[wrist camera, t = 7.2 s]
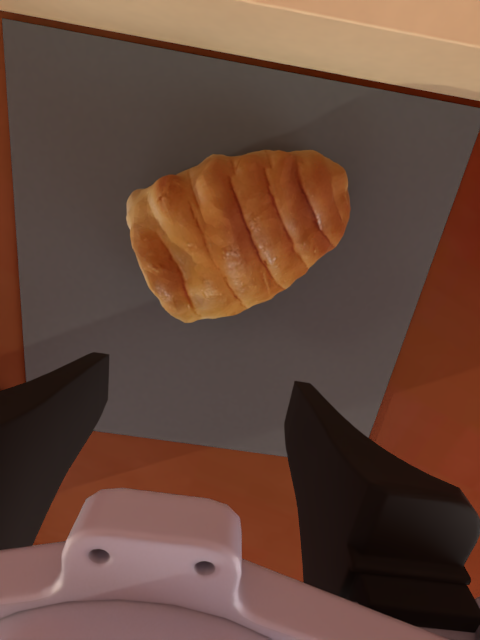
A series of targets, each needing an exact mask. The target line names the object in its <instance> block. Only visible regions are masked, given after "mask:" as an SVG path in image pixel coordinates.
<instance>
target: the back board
mask: <svg viewBox="0 0 480 640" xmlns="http://www.w3.org/2000/svg"><path fill="white" fill-rule="evenodd" d="M0 10H2V11H7V12H12V13H18V14H23V15H28V16H33V17H39V18H44V19H49V20H55V21H60V22H65V23H70V24H76V25H81V26H86V27H91V28H97V29H102V30H107V31H113V32H118V33H123V34H128V35H134V36H139V37H144V38H150V39H155V40H160V41H165V42H171V43H176V44H181V45H187V46H192V47H197V48H202V49H208V50H213V51H218V52H224V53H229V54H234V55H239V56H245V57H250V58H255V59H261V60H266V61H271V62H276V63H282V64H287V65H292V66H298V67H303V68H308V69H313V70H319V71H324V72H329V73H335V74H340V75H345V76H350V77H356V78H361V79H366V80H372V81H377V82H382V83H387V84H393V85H398V86H403V87H409V88H414V89H419V90H424V91H430V92H435V93H440V94H446V95H451V96H456V97H461V98H467V99H472V100H477V101H480V0H0Z"/></svg>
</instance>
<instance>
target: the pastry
mask: <svg viewBox="0 0 480 640" xmlns="http://www.w3.org/2000/svg"><path fill="white" fill-rule="evenodd" d="M350 211H351V208H350V198H349V193H348V177H347V174H346V171H345V169H344V168H343V167H342V166H340V165H339V164H337V163H335V162H333V161H332V160H330V159H329V158H327V157H324V156H323V155H322V154H320V153H318V152H317V151H314V150H302V151H292V152H285V151H280V150H276V151H272V150H261V151H255V152H251V153H247V154H244V155H241V156H231V157H230V156H225V155H223V154H212V155H210V156H209V157H207V158H206V159H204V160H203V161H202V162H201V163H200V164H199V165H197V166H195V167H192V168H190V169H187V170H185V171H182V172H180V173H178V174H176V175H173V174H171V175H166V176H163V177H161V178H159V179H158V180H157V181H156V182H155V183H154V184H153V185H151V186H149V187H148V188H145V189H137V190H134V191H133V192H132V193H131V195H130V196H129V198H128V200H127V216H126V220H127V225H128V227H129V229H130V238H131V244H132V248H133V249H134V252H135V254H136V257H137V260H138V263H139V266H140V268H141V270H142V273H143V275H144V277H145V280H146V282H147V285H148V287H149V288H150V290H151V291H152V292H153V294H154V295H155V296H156V297H157V298H158V299H159V300H160V303H161V305H162V307H163V308H164V309H165V310H166V311H167V312H168V313H169V314H170V315H172V316H173V317H175V318H177V319H179V320H181V321H182V322H184V323H192V322H194V321H197V320H201V319H207V318H209V319H216V318H220V317H226V316H233V315H237V314H239V313H241V312H242V311H244V310H246V309H248V308H250V307H252V306H253V305H256V304H259V303H262V302H265V301H268V300H270V299H272V298H273V297H274V296H275V295H276V294H277V293H279V292H281V291H283V290H285V289H287V288H288V287H290V285H291V284H292V283H293V282H294V281H295V280H296V279H298V278H300V277H301V276H303V275H304V274H306V272H307V271H308V269H309V268H310V267H311V266H312V265H314V263H315V262H316V261H317V260H318V259H319V258H321V257H322V256H323V255H325V254H326V253H327V252H329V251H331V250H333V249H334V248H335V247H336V246H337V244H338V243H339V241H340V240H341V238H342V237H343V235H344V232H345V229H346V226H347V223H348V221H349V218H350Z"/></svg>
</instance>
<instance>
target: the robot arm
mask: <svg viewBox="0 0 480 640" xmlns="http://www.w3.org/2000/svg"><path fill="white" fill-rule="evenodd" d="M109 355H110V354H104V353H97V352H92V353H90V354H87V355H85V356H83V357H81V358H79V359H77V360H75V361H73V362H71V363H68V364H66V365H64V366H62V367H60V368H58V369H56V370H54V371H52V372H49V373H47V374H45V375H42V376H40V377H38V378H35V379H33V380H31V381H28V382H26V383H23V384H20V385H17V386H15V387H12V388H8V389H5V390H2V391H0V640H480V596H479V597H477V598H476V599H474V597H473V596H472V594H471V592H470V590H469V588H468V586H467V585H469V584H470V582H471V578H470V576H469V574H468V572H467V571H466V569H465V567H464V564H465V562H466V560H467V558H468V557H469V555H470V553H471V551H472V550H473V548H474V546H475V544H476V542H477V540H478V537H479V535H480V519H479V516H478V514H477V512H476V511H475V510H474V508H473V507H472V505H471V504H470V502H469V501H468V500H467V498H466V497H465V495H464V494H463V492H462V491H461V490H460V488H458V487H456V486H454V485H451V484H449V483H447V482H445V481H442V480H440V479H438V478H436V477H433V476H431V475H429V474H427V473H425V472H423V471H421V470H419V469H417V468H415V467H413V466H411V465H410V464H408V463H406V462H404V461H403V460H401V459H399V458H397V457H396V456H394V455H393V454H391V453H389V452H388V451H386V450H385V449H383V448H382V447H380V446H379V445H377V444H376V443H375V442H373V441H372V440H371V439H369V438H368V437H367V436H365V435H364V434H363V433H361V432H360V431H359V430H358V429H357V428H355V427H354V426H353V425H352V424H351V423H350V422H349V421H347V420H346V419H345V418H344V417H343V416H342V415H341V414H340V413H339V412H338V411H337V410H336V409H335V408H334V407H333V406H332V405H331V404H330V403H329V402H328V401H327V400H326V399H325V398H324V397H323V396H322V395H321V394H320V392H319V391H318V390H317V389H316V388H315V387H314V386H313V385H312V384H311V383H307V382H300V381H294V385H293V389H292V394H291V398H290V402H289V406H288V410H287V414H286V418H285V422H284V433H285V446H286V452H287V457H288V462H289V467H290V471H291V476H292V481H293V486H294V491H295V495H296V501H297V507H298V516H299V527H300V537H301V550H302V563H303V579H304V583H303V582H301V581H298V580H295V579H293V578H290V577H288V576H285V575H283V574H280V573H277V572H275V571H272V570H270V569H267V568H265V567H262V566H259V565H257V564H254V563H252V562H249V561H247V560H244V559H242V531H241V524H240V517H239V516H238V515H237V514H236V513H235V512H234V511H233V510H232V509H231V508H230V507H229V506H228V505H226V504H223V503H220V502H218V501H215V500H212V499H208V498H200V497H192V496H184V495H176V494H168V493H160V492H152V491H144V490H135V489H127V488H115V489H103V490H100V491H98V492H97V493H95V494H93V495H92V496H90V497H88V498H87V499H86V501H85V503H84V505H83V507H82V509H81V511H80V513H79V515H78V517H77V519H76V521H75V523H74V526H73V528H72V530H71V532H70V534H69V536H68V538H67V540H66V541H64V542H56V543H49V544H42V545H34V546H32V545H33V543H34V541H35V538H36V536H37V534H38V531H39V529H40V527H41V525H42V523H43V520H44V518H45V516H46V514H47V512H48V510H49V507H50V505H51V503H52V501H53V499H54V497H55V495H56V493H57V491H58V489H59V487H60V485H61V483H62V481H63V479H64V477H65V475H66V473H67V472H68V470H69V468H70V467H71V465H72V463H73V462H74V460H75V459H76V457H77V455H78V454H79V452H80V451H81V449H82V447H83V446H84V444H85V443H86V441H87V439H88V438H89V436H90V435H91V433H92V431H93V430H94V428H95V426H96V425H97V423H98V421H99V419H100V417H101V415H102V413H103V410H104V408H105V406H106V403H107V401H108V386H109Z"/></svg>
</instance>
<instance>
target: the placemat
mask: <svg viewBox="0 0 480 640" xmlns="http://www.w3.org/2000/svg"><path fill="white" fill-rule="evenodd" d="M2 25H3V40H4V56H5V71H6V86H7V101H8V116H9V131H10V146H11V161H12V176H13V191H14V206H15V221H16V236H17V251H18V267H19V282H20V297H21V312H22V327H23V342H24V357H25V372H26V382H28V381H31V380H33V379H35V378H38V377H40V376H42V375H45V374H47V373H49V372H52V371H54V370H56V369H58V368H60V367H62V366H64V365H66V364H68V363H71V362H73V361H75V360H77V359H79V358H81V357H83V356H85V355H87V354H90V353H92V352H97V353H104V354H110V355H109V386H108V401H107V403H106V406H105V408H104V410H103V413H102V415H101V417H100V419H99V421H98V423H97V425H96V426H95V428H94V430H93V431H99V432H107V433H114V434H121V435H129V436H136V437H144V438H151V439H159V440H166V441H173V442H181V443H188V444H196V445H203V446H211V447H218V448H225V449H233V450H240V451H248V452H255V453H262V454H270V455H277V456H285V457H287V452H286V446H285V433H284V422H285V418H286V414H287V410H288V406H289V402H290V398H291V394H292V389H293V385H294V381H300V382H307V383H311V384H312V385H313V386H314V387H315V388H316V389H317V390H318V391H319V392H320V394H321V395H322V396H323V397H324V398H325V399H326V400H327V401H328V402H329V403H330V404H331V405H332V406H333V407H334V408H335V409H336V410H337V411H338V412H339V413H340V414H341V415H342V416H343V417H344V418H345V419H346V420H347V421H349V422H350V423H351V424H352V425H353V426H354V427H355V428H357V429H358V430H359V431H360V432H361V433H363V434H364V435H365V436H367V437H368V438H369V435H370V432H371V430H372V427H373V424H374V421H375V418H376V416H377V413H378V410H379V407H380V405H381V402H382V399H383V396H384V393H385V391H386V388H387V385H388V382H389V380H390V377H391V374H392V371H393V368H394V366H395V363H396V360H397V357H398V355H399V352H400V349H401V346H402V343H403V341H404V338H405V335H406V332H407V330H408V327H409V324H410V321H411V318H412V316H413V313H414V310H415V307H416V305H417V302H418V299H419V296H420V293H421V291H422V288H423V285H424V282H425V280H426V277H427V274H428V271H429V268H430V266H431V263H432V260H433V257H434V255H435V252H436V249H437V246H438V243H439V241H440V238H441V235H442V232H443V230H444V227H445V224H446V221H447V218H448V216H449V213H450V210H451V207H452V205H453V202H454V199H455V196H456V193H457V191H458V188H459V185H460V182H461V180H462V177H463V174H464V171H465V169H466V166H467V163H468V160H469V157H470V155H471V152H472V149H473V146H474V144H475V141H476V138H477V135H478V132H479V130H480V108H477V107H471V106H466V105H461V104H455V103H450V102H445V101H440V100H434V99H429V98H424V97H418V96H413V95H408V94H402V93H397V92H392V91H386V90H381V89H376V88H370V87H365V86H360V85H355V84H349V83H344V82H339V81H333V80H328V79H323V78H317V77H312V76H307V75H301V74H296V73H291V72H285V71H280V70H275V69H270V68H264V67H259V66H254V65H248V64H243V63H238V62H232V61H227V60H222V59H216V58H211V57H206V56H200V55H195V54H190V53H185V52H179V51H174V50H169V49H163V48H158V47H153V46H147V45H142V44H137V43H131V42H126V41H121V40H115V39H110V38H105V37H100V36H94V35H89V34H84V33H78V32H73V31H68V30H62V29H57V28H52V27H46V26H41V25H36V24H30V23H25V22H20V21H15V20H9V19H4V18H2ZM261 150H272V151H276V150H280V151H285V152H292V151H302V150H314V151H317V152H318V153H320V154H322V155H323V156H324V157H327V158H329V159H330V160H332V161H333V162H335V163H337V164H339V165H340V166H342V167H343V168H344V169H345V171H346V174H347V177H348V193H349V198H350V208H351V211H350V218H349V221H348V223H347V226H346V229H345V232H344V235H343V237H342V238H341V240H340V241H339V243H338V244H337V246H336V247H335V248H334V249H333V250H331V251H329V252H327V253H326V254H325V255H323V256H322V257H321V258H319V259H318V260H317V261H316V262H315V263H314V265H312V266H311V267H310V268H309V269H308V271H307V272H306V274H304V275H303V276H301V277H300V278H298V279H296V280H295V281H294V282H293V283H292V284H291V285H290V287H288V288H287V289H285V290H283V291H281V292H279V293H277V294H276V295H275V296H274V297H273V298H272V299H270V300H268V301H265V302H262V303H259V304H256V305H253V306H252V307H250V308H248V309H246V310H244V311H242V312H241V313H239V314H237V315H233V316H226V317H220V318H216V319H209V318H207V319H201V320H197V321H194V322H192V323H184V322H182V321H181V320H179V319H177V318H175V317H173V316H172V315H170V314H169V313H168V312H167V311H166V310H165V309H164V308H163V307H162V305H161V303H160V300H159V299H158V298H157V297H156V296H155V295H154V294H153V292H152V291H151V290H150V288H149V287H148V285H147V282H146V280H145V277H144V275H143V273H142V270H141V268H140V266H139V263H138V260H137V257H136V254H135V252H134V249H133V248H132V244H131V238H130V229H129V227H128V225H127V220H126V216H127V200H128V198H129V196H130V195H131V193H132V192H133V191H134V190H137V189H145V188H148V187H149V186H151V185H153V184H154V183H155V182H156V181H157V180H158V179H159V178H161V177H163V176H166V175H171V174H173V175H176V174H178V173H180V172H182V171H185V170H187V169H190V168H192V167H195V166H197V165H199V164H200V163H201V162H202V161H203V160H204V159H206V158H207V157H209V156H210V155H212V154H223V155H225V156H230V157H231V156H241V155H244V154H247V153H251V152H255V151H261Z"/></svg>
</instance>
